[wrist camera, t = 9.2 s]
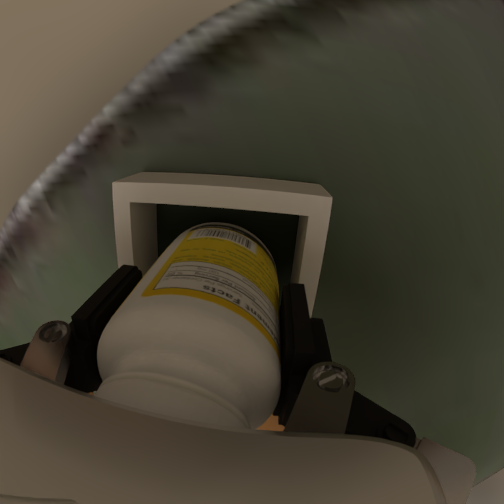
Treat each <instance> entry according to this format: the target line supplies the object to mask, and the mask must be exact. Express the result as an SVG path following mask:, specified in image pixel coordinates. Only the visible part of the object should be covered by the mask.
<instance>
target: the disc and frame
mask: <svg viewBox="0 0 504 504" xmlns="http://www.w3.org/2000/svg"><path fill="white" fill-rule="evenodd" d="M112 189H113V211H114V226H115V238H116V249H117V258H118V267H119V268H120V267H121V266H122V265H124V264H125V265H133V266H137V267H138V270H141V271H142V277H143V276H144V275H145V274H146V273H147V271H148V270H149V269H150V268H151V267H152V265H153V264H154V263H155V262H156V261H157V259H158V242H157V205H156V203H157V204H174V205H190V206H204V207H217V208H230V209H242V210H253V211H264V212H274V213H284V214H294V215H299V222H298V230H297V237H296V245H295V252H294V259H293V266H292V273H291V280H290V283H299V284H304V286H305V292H306V297H307V303H308V309H309V315H310V318H311V316H312V311H313V307H314V302H315V297H316V292H317V287H318V282H319V277H320V272H321V266H322V261H323V255H324V249H325V244H326V238H327V232H328V226H329V219H330V213H331V206H332V199H333V197H332V196H331V195H330V194H329V193H328V192H327V191H326V190H325V189H324V188H323V187H322V186H321V185H320V184H313V183H305V182H296V181H286V180H277V179H266V178H255V177H243V176H229V175H213V174H194V173H168V172H140V173H137V174H134V175H131V176H128V177H126V178H123V179H120V180H117V181H114V182H112ZM284 428H285V427H284V426H283V425H278V416H273V413H272V414H271V416H270V417H269V418H268V419H267V420H266V421H265V422H264V423H263V424H262V425H261V426H260V427H258V428H257V429H259V430H270V431H283V430H284Z"/></svg>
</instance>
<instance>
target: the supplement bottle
mask: <svg viewBox="0 0 504 504" xmlns="http://www.w3.org/2000/svg"><path fill="white" fill-rule="evenodd" d="M97 364H98V369H99V373H100V376H101V379H102V381H103V382H102V384H101V385H100V387H99V389H98V390H97V392H96V393H95V395H94V396H97V397H100V398H103V399H106V400H109V401H113V402H116V403H119V404H123V405H126V406H130V407H134V408H138V409H141V410H145V411H149V412H154V413H158V414H162V415H167V416H172V417H176V418H181V419H187V420H192V421H198V422H203V423H210V424H216V425H223V426H231V427H239V428H248V429H257V428H258V427H260V426H261V425H262V424H263V423H264V422H265V421H266V420H267V419H268V418H269V417H270V416H271V414H272V413H273V411H274V409H275V408H276V405H277V403H278V400H279V397H280V391H281V371H282V366H281V333H280V306H279V285H278V275H277V270H276V265H275V262H274V260H273V258H272V255H271V253H270V252H269V250H268V249H267V248H266V246H265V245H264V244H263V242H262V241H261V240H260V239H259V238H257V237H256V236H255V235H254V234H252V233H251V232H249V231H247V230H245V229H244V228H241V227H239V226H236V225H233V224H229V223H222V222H210V223H203V224H200V225H196V226H194V227H192V228H190V229H188V230H186V231H184V232H183V233H182V234H180V235H179V236H178V237H177V238H176V239H175V240H174V241H173V242H172V243H171V244H170V245H169V246H168V247H167V248H166V250H165V251H164V252H163V253H162V254H161V256H160V257H159V258H158V259H157V261H156V262H155V263H154V264H153V265H152V267H151V268H150V269H149V270H148V271H147V273H146V274H145V275H144V276H143V278H142V279H141V280H140V282H139V283H138V284H137V285H136V287H135V288H134V289H133V290H132V292H131V293H130V294H129V296H128V297H127V298H126V299H125V301H124V302H123V303H122V304H121V306H120V307H119V308H118V310H117V311H116V312H115V314H114V315H113V316H112V317H111V319H110V320H109V322H108V324H107V325H106V327H105V329H104V330H103V332H102V335H101V337H100V340H99V343H98V349H97Z"/></svg>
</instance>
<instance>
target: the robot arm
mask: <svg viewBox="0 0 504 504" xmlns="http://www.w3.org/2000/svg"><path fill="white" fill-rule="evenodd" d="M142 278H143V277H142V271H141V270H138V267H137V266H133V265H125V264H124V265H122V266H121V267H120V268H119V269H118V270H117V271H116V272H115V273H114V274H113V275H112V276H111V277H110V278H109V279H108V280H107V281H106V282H105V283H104V284H103V285H102V286H101V287H100V288H99V289H98V290H97V291H96V292H95V293H94V294H93V295H92V296H91V297H90V298H89V299H88V300H87V301H86V302H85V303H84V304H83V305H82V306H81V307H80V308H79V309H78V310H77V311H76V312H75V313H74V314H73V315H72V316H71V318H72V322H71V323H70V324H68V323H66V322H64V321H59V320H56V321H50V322H47V323H45V324H43V325H42V326H40V327H39V328H38V329H37V331H36V333H35V335H34V337H33V339H32V341H31V342H30V343H27V344H23V345H19V346H15V347H12V348H8V349H4V350H0V504H466V501H467V499H468V496H469V494H470V491H471V488H472V486H473V483H474V480H475V477H476V467H475V465H474V463H473V462H472V460H470V459H469V458H467V457H466V456H463V455H461V454H459V453H457V452H454V451H452V450H450V449H448V448H446V447H444V446H441V445H439V444H437V443H435V442H433V441H431V440H429V439H427V438H425V437H423V438H422V440H420V439H418V438H416V435H415V432H414V430H413V428H412V427H411V426H410V425H409V424H408V423H407V422H406V421H404V420H402V419H401V418H399V417H397V416H396V415H394V414H392V413H390V412H389V411H387V410H385V409H384V408H382V407H381V406H379V405H377V404H376V403H374V402H372V401H371V400H369V399H368V398H366V397H364V396H363V395H361V394H360V393H358V392H356V391H355V390H354V388H355V377H354V375H353V373H352V372H351V371H350V370H349V369H348V368H347V367H345V366H343V365H341V364H338V363H335V362H332V360H331V355H330V350H329V345H328V341H327V336H326V332H325V327H324V323H323V320H322V319H319V318H310V315H309V309H308V303H307V297H306V292H305V286H304V284H299V283H289V286H283V292H282V299H281V306H280V333H281V366H282V371H281V391H280V397H279V400H278V403H277V405H276V408H275V409H274V411H273V416H278V425H283V426H284V427H285V428H284V430H283V431H270V430H259V429H248V428H239V427H231V426H223V425H216V424H210V423H203V422H198V421H192V420H187V419H181V418H176V417H172V416H167V415H162V414H158V413H154V412H149V411H145V410H141V409H138V408H134V407H130V406H126V405H123V404H119V403H116V402H113V401H109V400H106V399H103V398H100V397H97V396H94V395H93V391H97V390H98V389H99V387H100V385H101V384H102V382H103V381H102V379H101V376H100V373H99V369H98V364H97V349H98V343H99V340H100V337H101V335H102V332H103V330H104V329H105V327H106V325H107V324H108V322H109V320H110V319H111V317H112V316H113V315H114V314H115V312H116V311H117V310H118V308H119V307H120V306H121V304H122V303H123V302H124V301H125V299H126V298H127V297H128V296H129V294H130V293H131V292H132V290H133V289H134V288H135V287H136V285H137V284H138V283H139V282H140V280H141V279H142Z"/></svg>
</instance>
